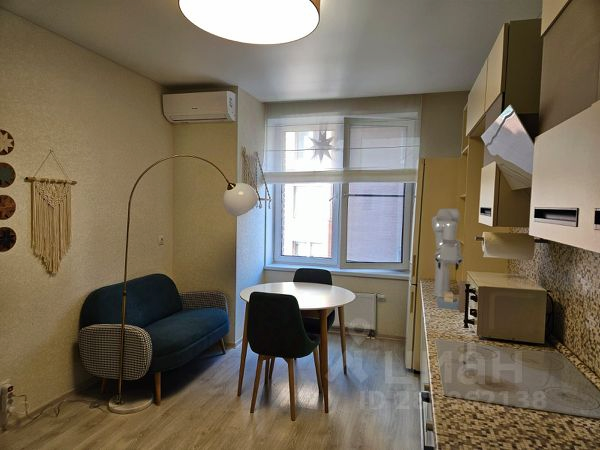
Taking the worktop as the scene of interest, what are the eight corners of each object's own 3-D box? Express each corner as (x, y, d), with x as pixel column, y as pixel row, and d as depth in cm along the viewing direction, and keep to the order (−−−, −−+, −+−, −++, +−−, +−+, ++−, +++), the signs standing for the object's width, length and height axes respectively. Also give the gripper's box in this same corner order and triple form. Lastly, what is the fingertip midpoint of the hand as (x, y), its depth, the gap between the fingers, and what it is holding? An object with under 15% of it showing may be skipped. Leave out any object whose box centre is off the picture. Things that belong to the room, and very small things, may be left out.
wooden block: (474, 311, 220) (476, 281, 219) (476, 313, 215) (477, 283, 214) (458, 310, 222) (459, 280, 221) (459, 312, 218) (460, 282, 217)
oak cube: (443, 299, 233) (443, 291, 232) (451, 300, 231) (452, 292, 231) (444, 301, 228) (444, 293, 227) (453, 302, 227) (453, 294, 226)
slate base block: (436, 303, 237) (437, 297, 237) (457, 305, 234) (457, 299, 234) (438, 308, 226) (438, 302, 226) (459, 310, 222) (459, 304, 222)
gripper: (463, 242, 230) (462, 269, 231) (434, 240, 235) (433, 267, 236) (465, 243, 223) (463, 271, 224) (434, 242, 228) (433, 269, 229)
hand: (447, 269), depth 230 cm, fingers open, 9 cm apart
